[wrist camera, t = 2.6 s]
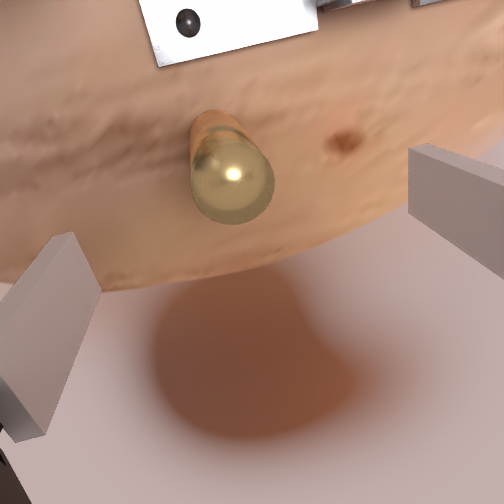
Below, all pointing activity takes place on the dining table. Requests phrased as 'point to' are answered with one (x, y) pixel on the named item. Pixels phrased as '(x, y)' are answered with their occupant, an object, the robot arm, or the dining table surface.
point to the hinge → (229, 23)
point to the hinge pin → (227, 170)
